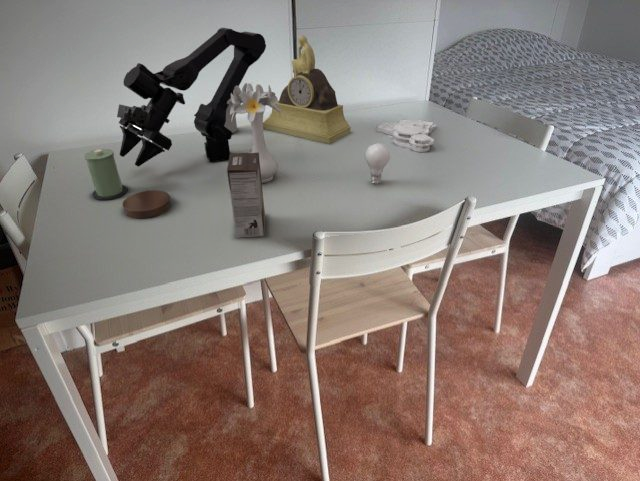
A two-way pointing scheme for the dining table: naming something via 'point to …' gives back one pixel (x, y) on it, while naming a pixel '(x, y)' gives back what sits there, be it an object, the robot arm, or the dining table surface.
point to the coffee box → (246, 194)
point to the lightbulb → (377, 160)
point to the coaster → (110, 196)
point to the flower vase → (256, 122)
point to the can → (228, 124)
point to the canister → (104, 172)
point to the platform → (147, 204)
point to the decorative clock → (308, 103)
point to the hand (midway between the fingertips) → (128, 160)
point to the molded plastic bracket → (410, 134)
